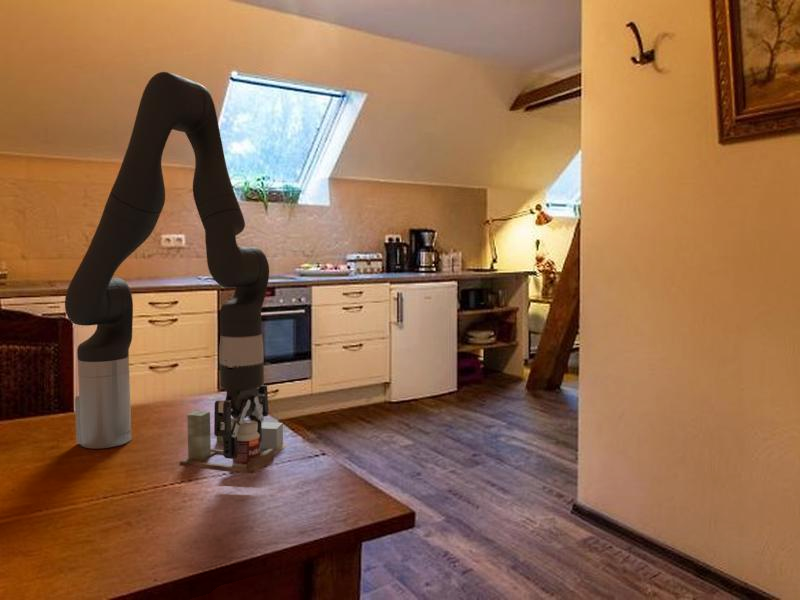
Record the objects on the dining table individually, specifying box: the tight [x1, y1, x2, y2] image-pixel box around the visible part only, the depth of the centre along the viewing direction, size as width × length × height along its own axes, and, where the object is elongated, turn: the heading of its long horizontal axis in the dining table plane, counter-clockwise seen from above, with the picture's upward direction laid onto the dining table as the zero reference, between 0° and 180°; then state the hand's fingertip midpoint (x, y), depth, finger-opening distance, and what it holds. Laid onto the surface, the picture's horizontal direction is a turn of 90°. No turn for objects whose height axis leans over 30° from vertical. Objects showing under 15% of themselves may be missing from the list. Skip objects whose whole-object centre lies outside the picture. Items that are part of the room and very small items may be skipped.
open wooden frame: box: [179, 410, 275, 474], centre depth 108 cm, size 14×8×9 cm, turn 74°
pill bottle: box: [232, 419, 261, 468], centre depth 107 cm, size 5×5×8 cm
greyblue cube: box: [260, 421, 284, 450], centre depth 117 cm, size 4×4×4 cm
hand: (243, 449), depth 108 cm, fingers open, 8 cm apart
